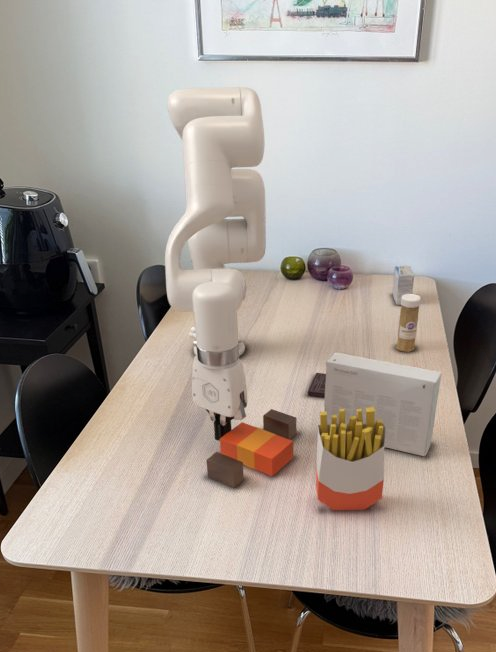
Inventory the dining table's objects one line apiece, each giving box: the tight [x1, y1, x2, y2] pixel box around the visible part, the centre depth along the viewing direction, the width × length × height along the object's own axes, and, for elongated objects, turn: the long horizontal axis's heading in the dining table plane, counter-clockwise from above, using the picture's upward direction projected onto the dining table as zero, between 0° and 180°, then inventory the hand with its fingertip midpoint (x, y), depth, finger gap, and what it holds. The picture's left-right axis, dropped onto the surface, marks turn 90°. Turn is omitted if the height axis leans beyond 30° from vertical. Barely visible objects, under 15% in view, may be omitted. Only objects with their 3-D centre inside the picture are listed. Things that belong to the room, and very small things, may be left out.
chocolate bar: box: [307, 372, 326, 399], centre depth 148 cm, size 9×1×18 cm
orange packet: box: [219, 421, 294, 477], centre depth 126 cm, size 12×7×4 cm, turn 55°
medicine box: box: [392, 265, 415, 306], centre depth 188 cm, size 8×4×9 cm, turn 179°
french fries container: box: [315, 407, 386, 511], centre depth 111 cm, size 5×11×18 cm, turn 91°
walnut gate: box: [206, 408, 298, 489], centre depth 127 cm, size 6×21×4 cm, turn 146°
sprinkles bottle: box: [396, 293, 422, 353], centre depth 161 cm, size 5×5×13 cm
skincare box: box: [323, 351, 442, 457], centre depth 128 cm, size 21×6×16 cm, turn 65°
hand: (223, 437), depth 130 cm, fingers closed
